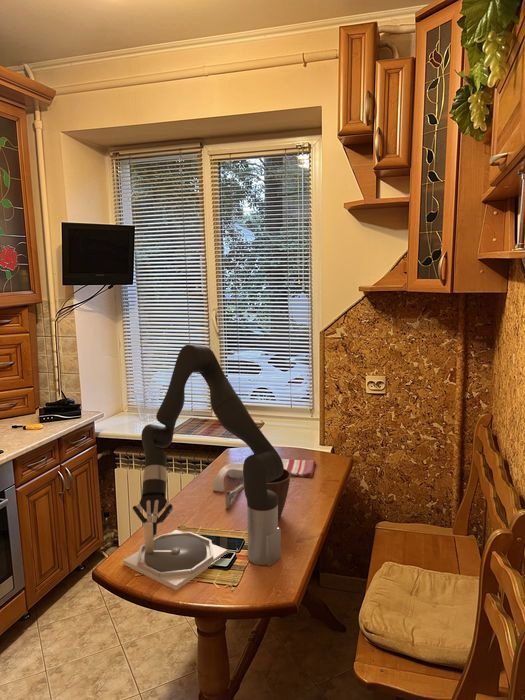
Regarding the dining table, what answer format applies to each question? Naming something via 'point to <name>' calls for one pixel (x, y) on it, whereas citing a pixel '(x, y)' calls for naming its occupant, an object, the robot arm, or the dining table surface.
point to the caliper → (232, 495)
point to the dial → (172, 551)
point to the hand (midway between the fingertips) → (151, 536)
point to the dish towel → (299, 467)
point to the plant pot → (280, 489)
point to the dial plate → (180, 576)
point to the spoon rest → (231, 470)
